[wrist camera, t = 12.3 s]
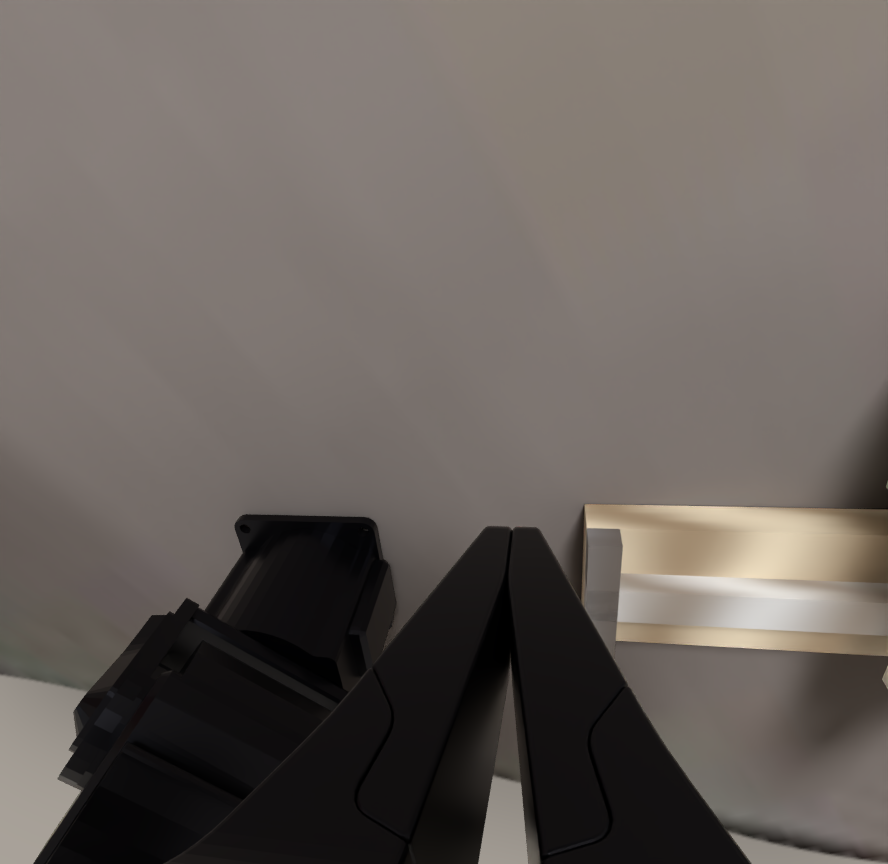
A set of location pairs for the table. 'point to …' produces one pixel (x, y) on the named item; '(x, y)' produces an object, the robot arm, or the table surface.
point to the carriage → (885, 677)
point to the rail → (738, 577)
